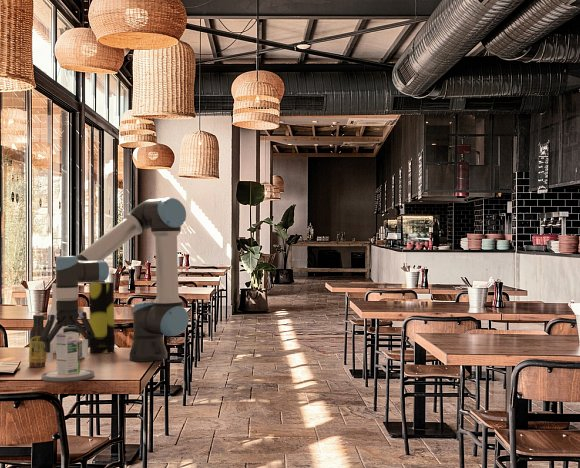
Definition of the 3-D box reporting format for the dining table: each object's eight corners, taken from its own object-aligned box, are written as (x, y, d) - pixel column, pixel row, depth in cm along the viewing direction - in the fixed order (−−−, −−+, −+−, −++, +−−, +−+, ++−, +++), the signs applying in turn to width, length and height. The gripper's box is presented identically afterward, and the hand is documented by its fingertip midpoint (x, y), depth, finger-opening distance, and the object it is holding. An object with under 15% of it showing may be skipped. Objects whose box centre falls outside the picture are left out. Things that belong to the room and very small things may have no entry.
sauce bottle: (30, 368, 291) (29, 316, 291) (27, 365, 296) (27, 314, 297) (48, 366, 294) (47, 315, 294) (45, 364, 299) (44, 313, 300)
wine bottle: (71, 352, 331) (70, 283, 331) (49, 354, 326) (48, 284, 326) (64, 350, 339) (63, 282, 339) (42, 352, 333) (41, 283, 334)
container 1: (76, 360, 309) (75, 328, 309) (58, 360, 310) (58, 328, 310) (85, 357, 316) (84, 326, 316) (67, 357, 318) (67, 326, 318)
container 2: (117, 350, 337) (116, 282, 337) (112, 353, 326) (111, 283, 326) (92, 350, 336) (91, 282, 337) (86, 354, 326) (86, 283, 326)
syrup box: (67, 375, 266) (66, 333, 266) (56, 373, 270) (55, 332, 270) (80, 373, 271) (79, 332, 271) (69, 371, 274) (68, 331, 274)
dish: (99, 372, 279) (99, 368, 279) (86, 381, 261) (86, 377, 261) (50, 373, 279) (50, 369, 279) (34, 382, 261) (34, 378, 261)
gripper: (93, 296, 282) (93, 354, 282) (28, 301, 264) (29, 362, 264) (103, 297, 277) (104, 356, 276) (39, 302, 259) (39, 365, 259)
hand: (67, 359), depth 270 cm, fingers open, 13 cm apart
